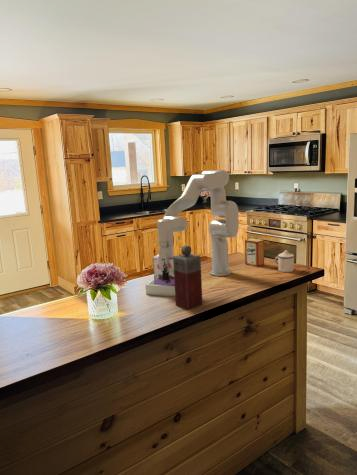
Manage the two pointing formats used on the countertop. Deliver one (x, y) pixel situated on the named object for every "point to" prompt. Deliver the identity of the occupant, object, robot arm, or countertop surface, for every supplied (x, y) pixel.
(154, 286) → the tray
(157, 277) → the candy box
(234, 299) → the countertop surface
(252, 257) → the baking soda box
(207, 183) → the robot arm
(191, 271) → the red canister with lid
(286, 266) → the teacup with lid
